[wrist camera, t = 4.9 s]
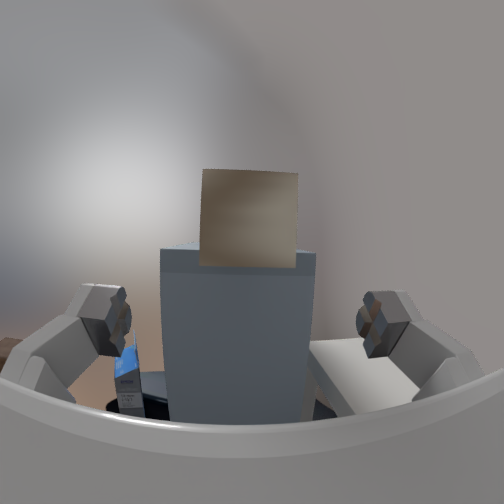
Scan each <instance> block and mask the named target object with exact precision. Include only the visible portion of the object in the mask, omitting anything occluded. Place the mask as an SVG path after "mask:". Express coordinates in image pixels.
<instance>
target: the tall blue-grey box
mask: <svg viewBox="0 0 504 504" xmlns="http://www.w3.org/2000/svg"><path fill="white" fill-rule="evenodd" d="M199 245H200V243H194V242H192V243H187V244H182V245H177V246H172V247H167V248H162V249H160V296H161V324H162V341H163V356H164V368H165V379H166V389H167V398H168V406H169V414H170V421H171V422H182V423H194V424H213V425H267V424H285V423H298V422H300V417H301V411H302V404H303V396H304V389H305V381H306V373H307V364H308V355H309V345H310V335H311V324H312V311H313V299H314V284H315V283H314V282H315V266H316V253H313V252H308V251H303V250H298V249H296V268H268V267H227V266H199Z"/></svg>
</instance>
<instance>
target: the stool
mask: <svg viewBox="0 0 504 504" xmlns="http://www.w3.org/2000/svg"><path fill="white" fill-rule="evenodd" d="M363 342H364V338H353V339H339V340H325V341H310V345H309V355H308V364H307V373H306V381H305V389H304V396H303V404H302V411H301V417H300V422H308V421H312V417H313V411H314V405H315V399H316V392H317V386H318V385H319V386H320V388H321V389H322V391H323V393H324V394H325V396H326V398H327V400H328V401H329V403H330V405H331V406H332V408H333V409H334V411H335V413H336V414H337V416H338V418H340V417H346V416H352V415H357V414H363V413H368V412H373V411H377V410H382V409H386V408H391V407H395V406H399V405H403V404H406V403H410V402H412V398H413V396H414V395H415V394H416V393H417V392H418V391H419V390H420V389H419V388H418V387H417V386H416V385H415V384H414V383H413V382H412V381H411V380H410V379H409V378H408V377H407V376H406V375H405V374H404V373H403V372H402V371H401V370H400V369H399V368H398V367H397V366H396V365H395V364H394V363H393V362H392V361H391V360H390V359H389V358H388V357H380V358H371V359H368V357H367V355H366V352H365V349H364V347H363Z"/></svg>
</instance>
